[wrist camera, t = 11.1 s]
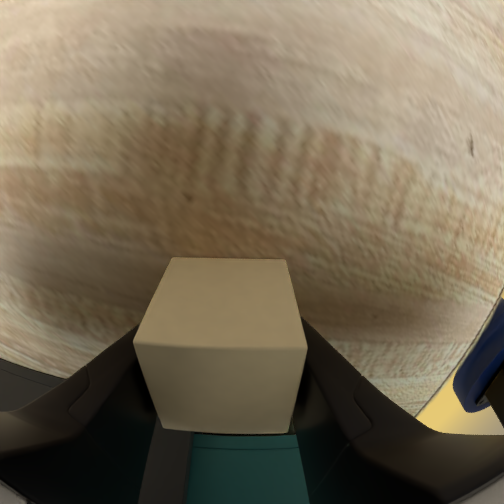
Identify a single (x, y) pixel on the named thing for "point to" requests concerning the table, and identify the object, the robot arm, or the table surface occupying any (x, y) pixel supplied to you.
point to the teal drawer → (246, 470)
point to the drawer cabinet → (161, 449)
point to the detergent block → (223, 346)
